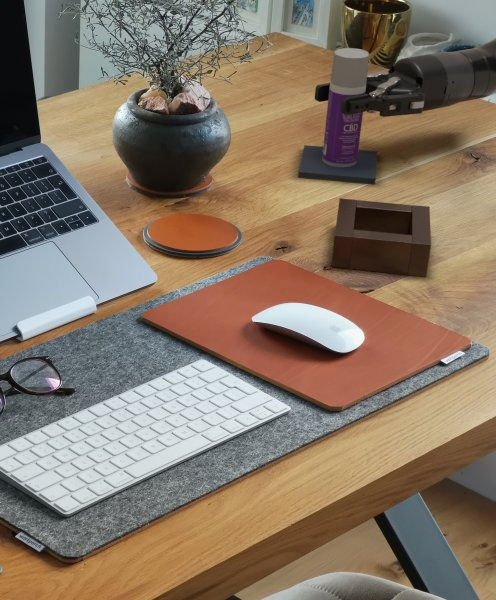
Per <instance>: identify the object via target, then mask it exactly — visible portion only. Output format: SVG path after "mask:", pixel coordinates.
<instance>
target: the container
mask: <svg viewBox="0 0 496 600" xmlns="http://www.w3.org/2000/svg"><path fill="white" fill-rule="evenodd" d="M369 60H370V52H368V51H366V50H365V49H360V48H354V47H343V48H337V49H336V50H334V52H333V59H332V67H331V74H330V82H329V83H330V88H329V97H328V101H327V108H326V118H325V127H324V137H323V146H322V147H323V155H322V161H323V162H324V163H325V164H327V165H330V166H333V167H351V166H354V165H355V164H356V163H357V157H358V150H359V147H360V139H361V131H362V124H363V117H364V116H363V115H364V112H361V113H355V114H350V115H344V114H342V113H341V104H342V99H343V98H345V97H350V96H355V95H361V94H365V92H366V81H367V74H368V71H369V70H368V69H369Z"/></svg>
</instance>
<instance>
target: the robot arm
mask: <svg viewBox="0 0 496 600" xmlns="http://www.w3.org/2000/svg"><path fill="white" fill-rule="evenodd" d="M329 88H330V82H326V83H325V82H324V83H321V84H317V85H316V86H315V90H314V100H315V101H316V102H319V103H322V102H328V97H329ZM495 92H496V37H495V38H493V39H491V40H489V41H488V42H485V43H483V44H481V45H478V46H476V47H473V48H467V49H462V50H455V51H440V52H433V53H427V54H422V55H421V54H420V55H416V56H410V57H404V58H400V59H398V60H397V61H395V63H393V64H392V66H391V67H390V69H388V71H383V70H382V71H375V72H374V73H367V81H366V92H365V94H361V95H355V96H350V97H345V98H343V99H342V104H341V113H342V114H344V115H350V114H355V113H361V112H363V113H365V112H367V113H369V114H376V113H378V112H379V116H380V117H383V118H386V117H387V118H388V117H398V116H408V115H409V116H410V115H420V114H421V115H422V114H423V112H428V111H433V110H437V109H442V108H447V107H451V106H454V105H456V104H460V103H464V102H470V101H475V100H480V99H484V98H486V97H489V96H491V95H493V94H494V93H495Z"/></svg>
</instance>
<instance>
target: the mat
mask: <svg viewBox="0 0 496 600" xmlns="http://www.w3.org/2000/svg"><path fill="white" fill-rule="evenodd" d="M322 155H323V146H321V145H320V146H319V145H308V144H305V145H304V146H303V150H302V155H301V158H300V159H301V160H300V164H299V169H298V175H297V177H298V178H301V179H314V180H325V181H333V182H334V181H335V182H345V183H346V182H347V183H355V184H356V183H357V184H368V185H369V184H370V185H375V184H376V176H377V161H378V151H377V150H366V149H358V157H357V163H356V164H355V165H354V166H351V167H333V166H330V165H327V164H325V163H324V162H323V161H322Z"/></svg>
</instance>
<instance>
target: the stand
mask: <svg viewBox="0 0 496 600" xmlns="http://www.w3.org/2000/svg"><path fill="white" fill-rule="evenodd" d="M338 201H339V202H338V208H337V215H336V222H335V230H334V237H333V239H334V240H333V248H332V256H331V265H330V266H331V268H340V269H350V270H358V271H367V272H377V273H384V274H395V275H405V276H413V277H414V276H415V277H423V278H426V277H427V272H428V267H429V261H430V254H431V248H432V235H431V210H430V209H431V208H430V206H427V205H415V204H402V203H394V202H383V201H372V200H361V199H351V198H341V197H340V198H339V200H338Z"/></svg>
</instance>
